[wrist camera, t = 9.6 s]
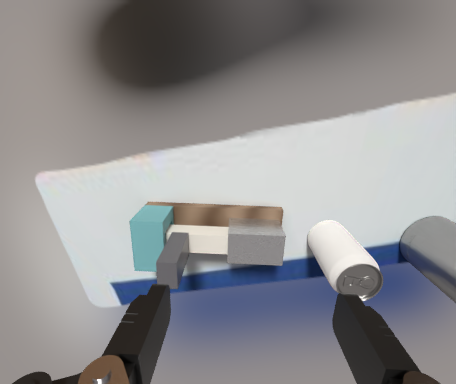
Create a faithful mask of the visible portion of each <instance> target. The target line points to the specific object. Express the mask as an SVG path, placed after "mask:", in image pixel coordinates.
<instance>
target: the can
mask: <svg viewBox="0 0 456 384" xmlns="http://www.w3.org/2000/svg"><path fill="white" fill-rule="evenodd" d="M307 240H308V244H309V247H310V249H311V250H312V252H313V254H314V256H315V258H316V260H317V262H318V263H319V265H320V267H321V269H322V271H323V273H324V274H325V276H326V278H327V280H328V282H329V283H330V285H331V286H332V288H333V289H334V290H335V291H336V292H338V293H348V294H357V295H358V296H359V297H360V299H361V300H362V301H365V300H368V299H370V298H372V297H374V296H375V295H376V294H377V293H378V292H379V291H380V289H381V287H382V285H383V276H382V274H381V272H380V270H379V266H378V264H377V263H376V261H375V260H374V259H373V258H372V257H371V256H370V254H369V253H368V252H367V251H366V250H365V249H364V248H363V247H362V246H361V245H360V244H359V243H358V242H357V240H356V239H355V238H354V237H353V236H352V235H351V234H350V233H349V232H348V231H347V230H346V229H345V228H344V227H343V226H342V225H341V224H340V223H338V222H336V221H332V220H326V221H322V222H319V223H317V224H316V225H314V226H313V227H312V228H311V230H310V231H309V234H308V238H307Z"/></svg>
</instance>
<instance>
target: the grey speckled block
mask: <svg viewBox="0 0 456 384" xmlns="http://www.w3.org/2000/svg"><path fill="white" fill-rule="evenodd" d="M285 237H286V236H285V233H284V231H283V228H282V226H281V223H280V221H279V220H271V219H247V218H229V229H228V253H227V263H235V264H258V265H280V266H282V262H283V254H284V245H285Z"/></svg>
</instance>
